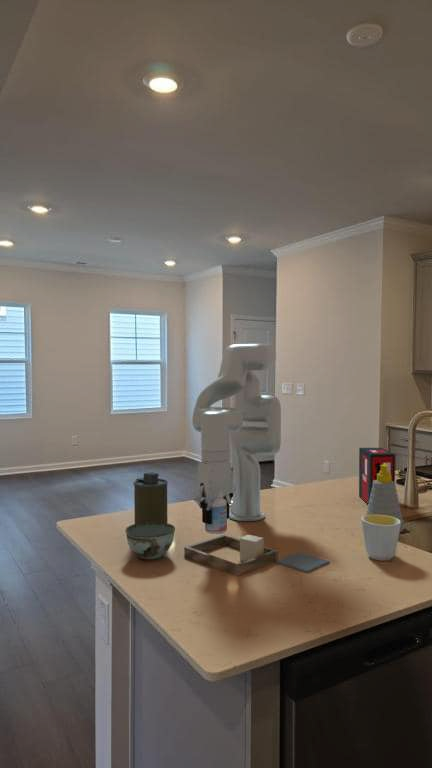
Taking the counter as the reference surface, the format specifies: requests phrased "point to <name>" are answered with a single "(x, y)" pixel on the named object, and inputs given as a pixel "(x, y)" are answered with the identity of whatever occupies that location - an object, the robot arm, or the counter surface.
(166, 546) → the bowl
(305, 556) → the slate mat
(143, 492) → the canister
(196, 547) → the parts frame
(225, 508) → the pill bottle
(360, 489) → the cleaning product box
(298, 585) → the counter surface
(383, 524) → the mug
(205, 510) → the robot arm
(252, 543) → the tan box
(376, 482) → the soap bottle
